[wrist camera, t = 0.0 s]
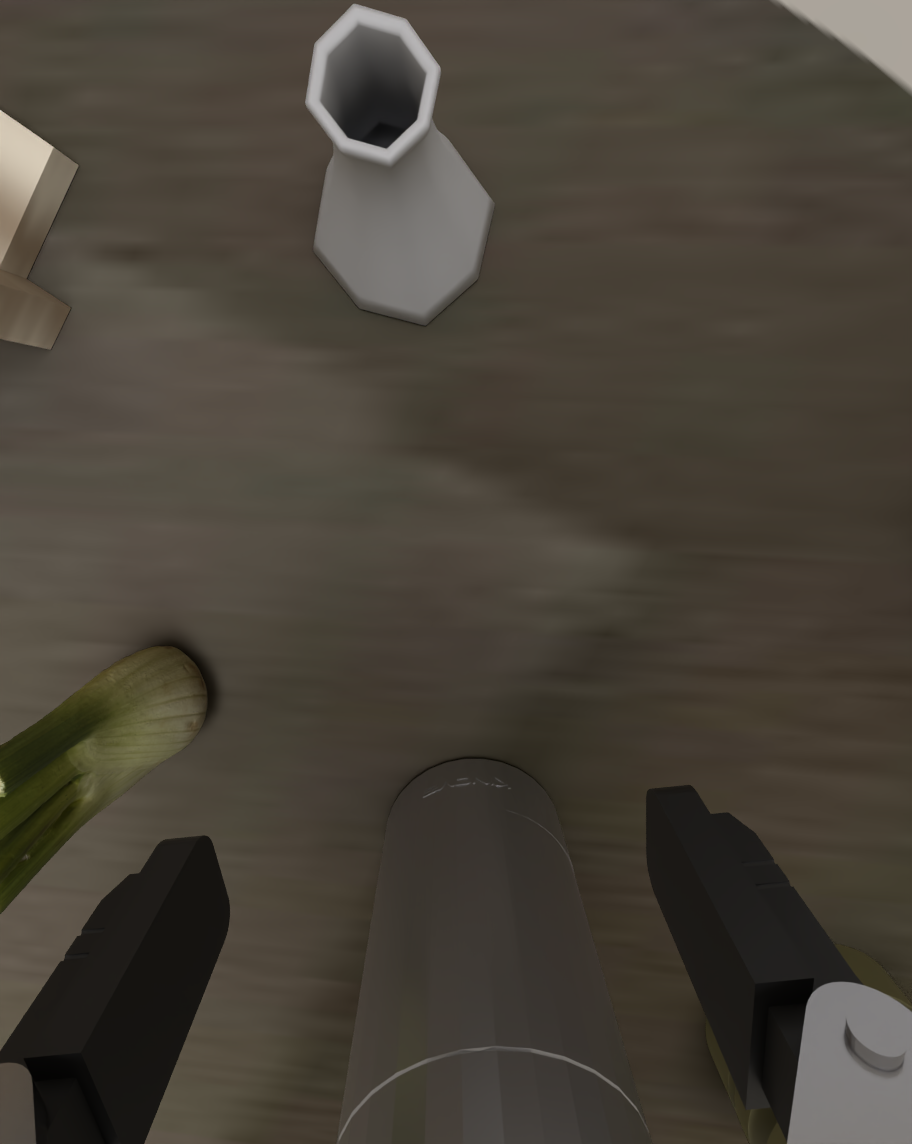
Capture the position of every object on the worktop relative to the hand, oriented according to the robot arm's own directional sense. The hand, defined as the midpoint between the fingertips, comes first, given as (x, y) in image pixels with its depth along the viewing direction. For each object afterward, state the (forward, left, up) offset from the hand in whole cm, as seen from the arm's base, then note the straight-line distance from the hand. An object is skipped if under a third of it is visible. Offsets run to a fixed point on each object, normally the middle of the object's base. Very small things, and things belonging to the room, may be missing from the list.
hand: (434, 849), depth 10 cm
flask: (+16, 0, -18) cm, 23 cm away
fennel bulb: (-3, +14, -18) cm, 23 cm away
